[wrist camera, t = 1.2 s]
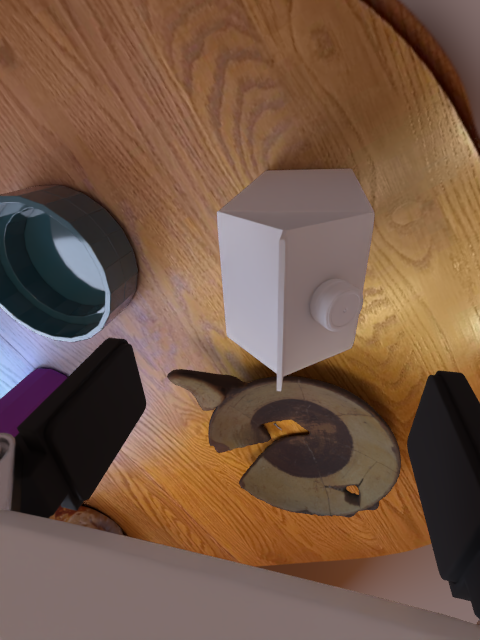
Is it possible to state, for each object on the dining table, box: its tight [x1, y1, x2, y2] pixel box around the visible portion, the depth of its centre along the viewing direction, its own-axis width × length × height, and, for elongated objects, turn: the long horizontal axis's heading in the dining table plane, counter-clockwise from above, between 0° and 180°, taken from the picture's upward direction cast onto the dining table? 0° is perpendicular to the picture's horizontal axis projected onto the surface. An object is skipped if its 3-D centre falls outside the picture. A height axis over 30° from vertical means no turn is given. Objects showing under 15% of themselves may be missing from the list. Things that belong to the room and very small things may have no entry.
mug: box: [0, 368, 68, 437], centre depth 45 cm, size 9×16×15 cm, turn 24°
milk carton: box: [217, 169, 375, 391], centre depth 21 cm, size 7×7×19 cm
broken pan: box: [167, 369, 401, 517], centre depth 39 cm, size 22×30×8 cm
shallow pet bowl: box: [0, 185, 138, 342], centre depth 34 cm, size 15×15×6 cm
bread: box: [55, 505, 125, 536], centre depth 71 cm, size 25×27×15 cm
